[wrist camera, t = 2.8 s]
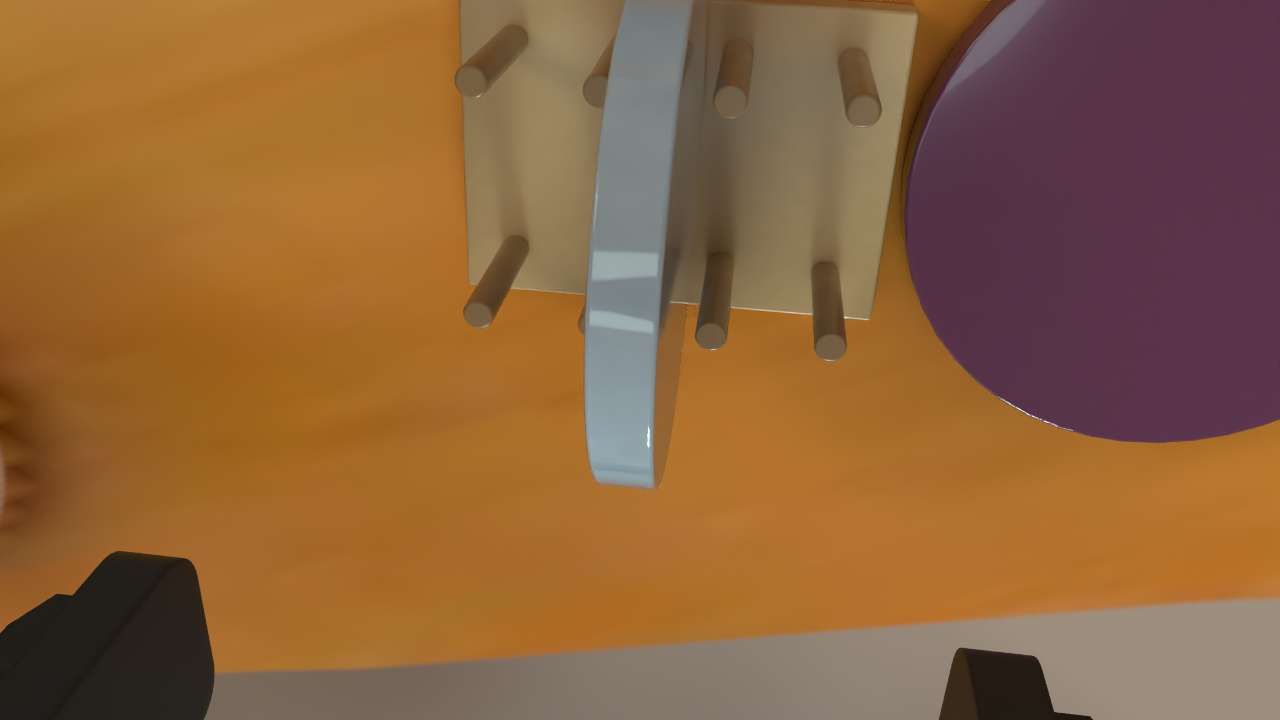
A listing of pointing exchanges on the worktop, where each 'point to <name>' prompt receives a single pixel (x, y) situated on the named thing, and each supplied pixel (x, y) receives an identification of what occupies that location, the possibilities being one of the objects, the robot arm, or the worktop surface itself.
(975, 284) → the plum plate
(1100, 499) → the worktop surface
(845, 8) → the dish rack
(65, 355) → the worktop surface
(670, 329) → the plate
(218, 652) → the worktop surface
